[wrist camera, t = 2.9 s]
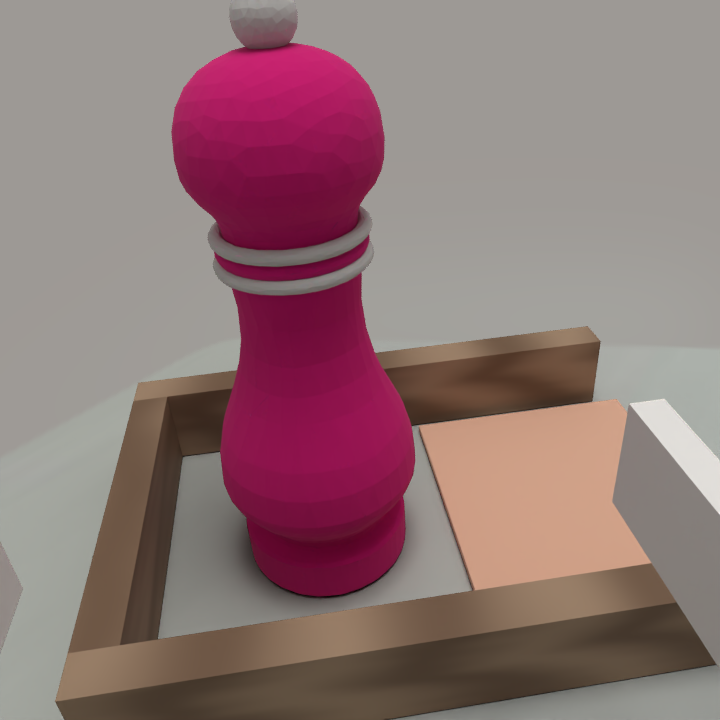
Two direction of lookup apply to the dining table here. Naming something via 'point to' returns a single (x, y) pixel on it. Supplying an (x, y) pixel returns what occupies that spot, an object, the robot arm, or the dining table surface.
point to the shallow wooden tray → (369, 624)
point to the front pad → (534, 492)
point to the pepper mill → (298, 302)
